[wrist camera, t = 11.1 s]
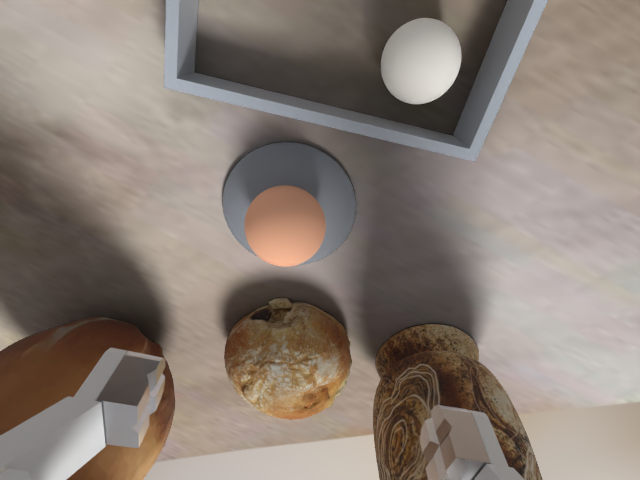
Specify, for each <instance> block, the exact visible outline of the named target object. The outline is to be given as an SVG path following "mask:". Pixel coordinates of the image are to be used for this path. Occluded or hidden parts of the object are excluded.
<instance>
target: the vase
mask: <svg viewBox="0 0 640 480" xmlns="http://www.w3.org/2000/svg"><path fill="white" fill-rule="evenodd" d="M478 361H479V350H478V348H477V346H476V344H475V342H474V340H473V339H472V338H471V337H470V336H469V335H467V334H466V333H464V332H462V331H461V330H459V329H457V328H454V327H452V326H446V325H438V324H426V325H420V326H414V327H410V328H407V329H405V330H403V331H401V332H399V333H397V334H395V335H394V336H392V337H391V338H390V339H389V340H387V341H386V342H385V343H384V344H383V345H382V346H381V348H380V349H379V351H378V353H377V356H376V369H377V372H378V374H379V376H380V378H381V380H380V383H379V385H378V387H377V390H376V394H375V399H374V408H373V430H374V442H375V450H376V458H377V464H378V471H379V478H380V480H428V477H427V473H426V467H427V464H428V462H429V461H428V460H427V459H426V457H425V456H424V455H423V453H422V449H421V444H420V434H421V428H422V426H423V424H424V422H425V421H426V420H428V419H430V418H432V415H431V410H432V409H433V407H434V406H436V405H442V406H449V407H455V408H461V409H467V410H471V411H477V412H483V413H485V414H486V415H487V416H488V418H489V420H490V423H491V425H492V428H493V430H494V432H495V435H496V437H497V440H498V442H499V445H500V447H501V449H502V452H503V454H504V457H505V459H506V461H507V464H508V466H509V467H511V468H514V469H515V470H516V471H517V472H518V473H519V474H520V475H521V476H522V477H523V478H524V480H542V477H541V474H540V471H539V467H538V464H537V461H536V458H535V455H534V452H533V450H532V447H531V444H530V442H529V439H528V436H527V433H526V431H525V429H524V427H523V424H522V422H521V420H520V418H519V416H518V414H517V412H516V410H515V408H514V406H513V404H512V402H511V400H510V398H509V397H508V395H507V393H506V392H505V390H504V389H503V387H502V386H501V384H500V383H499V382H498V380H497V379H496V378H495V376H494V375H493V374H492V373H491V372H490V371H489V370H488V369H487V368H486V367H485V366H484V365H482V364H481V363H480V362H478Z"/></svg>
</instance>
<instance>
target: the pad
mask: <svg viewBox="0 0 640 480" xmlns="http://www.w3.org/2000/svg"><path fill="white" fill-rule="evenodd" d="M281 185H290V186H295V187H298V188H301V189H303V190H305V191H307V192H308V193H310V194H311V195H312V196H313V197H314V198H315V199H316V200H317V201H318V203H319V204H320V206H321V208H322V210H323V212H324V216H325V221H326V231H325V237H324V240H323V242H322V244H321V246H320V248H319V249H318V251H317V252H316V253H315V254H314V255H313V256H312V257H311V258H310V259H308V260H307V261H305V262H303V263H301V264H298V265H302V264H307V263H311V262H315V261H318V260H320V259H322V258H324V257H326V256H328V255H329V254H331V253H332V252H333V251H335V250H336V249H337V248H338V247H339V246H340V245H341V244H342V243H343V242H344V240H345V239H346V238H347V236H348V234H349V233H350V231H351V228H352V226H353V223H354V219H355V214H356V199H355V194H354V190H353V187H352V184H351V182H350V180H349V178H348V176H347V174H346V173H345V171H344V170H343V168H342V167H341V166H340V165H339V164H338V163H337V162H336V161H335V160H334V159H333V158H331V157H330V156H329V155H327V154H326V153H324V152H323V151H321V150H319V149H317V148H314V147H312V146H309V145H305V144H301V143H295V142H279V143H273V144H269V145H265V146H262V147H260V148H257V149H256V150H254V151H252V152H250V153H249V154H247V155H246V156H245V157H243V158H242V159H241V160H240V161H239V162H238V163H237V165H236V166H235V167H234V169H233V170H232V171H231V173H230V175H229V177H228V179H227V181H226V184H225V187H224V192H223V212H224V216H225V220H226V222H227V225H228V227H229V229H230V231H231V232H232V234H233V235H234V237H235V238H236V239H237V241H238V242H239V243H240V244H241V245H242V246H243V247H244V248H246V249H247V250H248V251H249V252H251V253H253V254H254V255H256V254H255V253H254V252H253V250H252V249H251V247H250V246H249V244H248V242H247V239H246V235H245V230H244V223H245V216H246V213H247V210H248V208H249V206H250V204H251V203H252V201H253V200H254V199H255V198H256V197H257V196H258V195H259V194H260V193H262V192H263V191H265V190H267V189H269V188H272V187H275V186H281ZM256 256H257V255H256Z"/></svg>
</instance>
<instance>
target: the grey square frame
mask: <svg viewBox="0 0 640 480" xmlns="http://www.w3.org/2000/svg"><path fill="white" fill-rule="evenodd" d="M547 1H548V0H507V3H506V5H505V8H504V10H503V13H502V15H501V17H500V20H499V22H498V25H497V27H496V30H495V32H494V35H493V37H492V40H491V42H490V45H489V47H488V50H487V52H486V55H485V57H484V60H483V62H482V64H481V67H480V69H479V72H478V74H477V77H476V79H475V82H474V84H473V87H472V89H471V92H470V94H469V97H468V99H467V102H466V104H465V107H464V109H463V111H462V114H461V116H460V119H459V121H458V124H457V126H456V129H455V131H454V134H453V135H449V134H445V133H440V132H436V131H432V130H428V129H424V128H420V127H416V126H412V125H408V124H404V123H399V122H395V121H391V120H387V119H383V118H379V117H375V116H371V115H367V114H363V113H359V112H354V111H350V110H346V109H342V108H338V107H334V106H330V105H326V104H322V103H318V102H313V101H309V100H305V99H301V98H297V97H293V96H289V95H285V94H281V93H277V92H273V91H268V90H264V89H260V88H256V87H252V86H248V85H244V84H240V83H236V82H232V81H227V80H223V79H219V78H215V77H211V76H207V75H203V74H199V73H195V72H194V71H195V54H196V37H197V20H198V3H199V0H166V23H165V68H164V88H166V89H171V90H175V91H179V92H183V93H187V94H192V95H196V96H200V97H204V98H208V99H213V100H217V101H221V102H225V103H229V104H234V105H238V106H242V107H246V108H251V109H255V110H259V111H263V112H267V113H272V114H276V115H280V116H284V117H288V118H293V119H297V120H301V121H305V122H309V123H314V124H318V125H322V126H326V127H330V128H335V129H339V130H343V131H347V132H351V133H356V134H360V135H364V136H368V137H373V138H377V139H381V140H385V141H389V142H394V143H398V144H402V145H406V146H410V147H415V148H419V149H423V150H427V151H431V152H436V153H440V154H444V155H448V156H452V157H457V158H461V159H465V160H469V161H473V162H475V161H476V159H477V157H478V154H479V152H480V150H481V148H482V145H483V143H484V141H485V139H486V136H487V134H488V132H489V130H490V128H491V125H492V123H493V121H494V119H495V116H496V114H497V112H498V110H499V108H500V105H501V103H502V101H503V99H504V96H505V94H506V92H507V90H508V88H509V85H510V83H511V81H512V79H513V76H514V74H515V72H516V70H517V67H518V65H519V63H520V61H521V59H522V56H523V54H524V52H525V50H526V47H527V45H528V43H529V41H530V39H531V36H532V34H533V32H534V30H535V27H536V25H537V23H538V21H539V19H540V16H541V14H542V12H543V10H544V7H545V5H546V3H547Z"/></svg>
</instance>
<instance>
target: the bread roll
mask: <svg viewBox="0 0 640 480" xmlns="http://www.w3.org/2000/svg"><path fill="white" fill-rule="evenodd" d="M268 303H269V304H268V305H267V306H263V307H261V308H259V309H257V310H255V311H253V312H252V313H250V314H249V315H248V316H245V317H243V318H242V319H241V320H240V321H238V323H237V324H235V325H234V327H233V328H232V330H231V332H230V334H229V336H228V339H227V341H226V346H225V355H224V359H225V368H226V371H227V375H228V378H229V380H230V382H231V384H232V386H233V387H234V389H235V390H236V391H237V392H238V394H239V395H240V396H241V397H242V398H243V399H244V400H245V401H246V402H247V403H249V404H250V405H252V406H253V407H255V408H256V409H257V410H259V411H260V412H263V413H265V414H267V415H270V416H273V417H277V418H285V419H290V420H291V419H302V418H305V417H309V416H312V415H314V414H317V413H319V412H321V411H322V410H323V409H325V408H328V407H330V406H332V405H333V402H334V400H335V397H337V396H338V395H340V394H341V393H342V390H343V389H344V388H345V386H346V380H347V378H348V376H349V373H350V367H351V364H352V359H351V355H350V349H349V347H350V341H349V339H348V336H347V333H346V331H345V329H344V328H343V325H342V324H340V323H339V322H338V321H337V320H335V318H333V317H332V315H330V314H327V313H325V312H324V311H322V310H321V309H319V308H317V307H315V306H312V305H310V304H307V303H303V302H296V303H291V302H290V300H288V298H275V299H273V300H271V301H269V302H268Z"/></svg>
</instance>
